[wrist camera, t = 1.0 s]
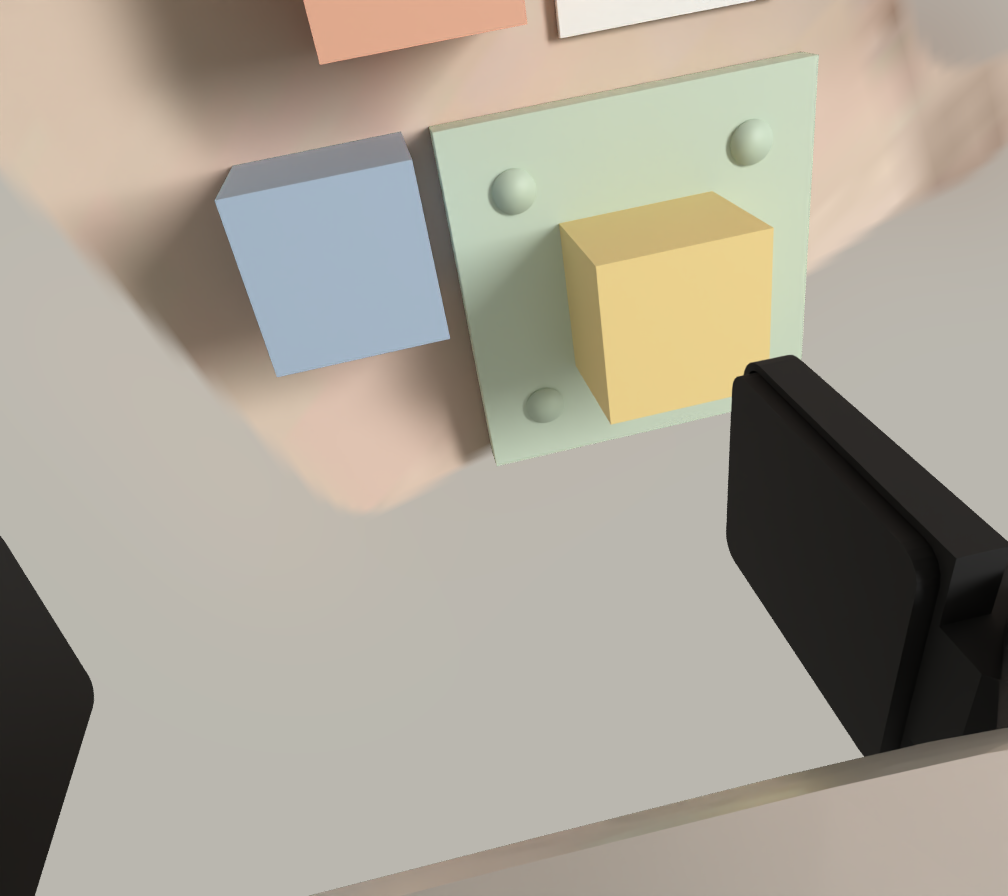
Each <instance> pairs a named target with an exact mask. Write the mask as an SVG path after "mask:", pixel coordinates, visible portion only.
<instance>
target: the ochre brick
mask: <svg viewBox="0 0 1008 896" xmlns="http://www.w3.org/2000/svg"><path fill="white" fill-rule="evenodd" d="M559 229H560V237H561V246H562V254H563V263H564V271H565V280H566V288H567V297H568V305H569V314H570V322H571V331H572V339H573V348H574V356H575V365H576V367H577V369H578V370H579V372H580V374H581V376H582V377H583V379H584V381H585V382H586V384H587V386H588V387H589V389H590V391H591V392H592V394H593V396H594V397H595V399H596V401H597V402H598V404H599V406H600V407H601V409H602V411H603V412H604V414H605V416H606V417H607V419H608V421H609V422H610V424H611V425H612V424H616V423H620V422H625V421H629V420H633V419H638V418H642V417H646V416H651V415H655V414H659V413H664V412H668V411H672V410H677V409H681V408H685V407H690V406H694V405H698V404H703V403H707V402H711V401H715V400H720V399H724V398H728V397H732V386H733V381H734V379H735V378H736V377H738V376H742V375H744V371H745V368H746V366H747V365H748V364H749V363H751V362H756V361H761V360H766V359H770V330H771V298H772V267H773V235H774V228H773V227H772V226H770V225H768V224H767V223H765V222H763V221H762V220H760V219H758V218H757V217H755V216H753V215H752V214H750V213H748V212H747V211H745V210H743V209H742V208H740V207H738V206H737V205H735V204H733V203H732V202H730V201H728V200H727V199H725V198H723V197H722V196H720V195H718V194H717V193H715V192H713V191H710V192H705V193H700V194H695V195H691V196H686V197H681V198H677V199H672V200H667V201H662V202H658V203H653V204H648V205H644V206H639V207H634V208H629V209H625V210H620V211H615V212H611V213H606V214H601V215H596V216H592V217H587V218H582V219H577V220H573V221H568V222H563V223H559Z"/></svg>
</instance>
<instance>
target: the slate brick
mask: <svg viewBox="0 0 1008 896" xmlns="http://www.w3.org/2000/svg"><path fill="white" fill-rule="evenodd" d="M215 203H216V206H217V209H218V212H219V214H220V217H221V220H222V223H223V226H224V229H225V231H226V234H227V237H228V240H229V243H230V246H231V248H232V251H233V254H234V257H235V260H236V262H237V265H238V268H239V271H240V274H241V277H242V279H243V282H244V285H245V288H246V291H247V294H248V296H249V299H250V302H251V305H252V308H253V311H254V313H255V316H256V319H257V322H258V325H259V327H260V330H261V333H262V336H263V339H264V342H265V344H266V347H267V350H268V353H269V356H270V359H271V361H272V364H273V367H274V370H275V373H276V375H277V377H281V376H285V375H290V374H294V373H299V372H303V371H308V370H312V369H317V368H321V367H326V366H330V365H334V364H339V363H343V362H348V361H352V360H357V359H361V358H366V357H370V356H375V355H379V354H384V353H388V352H393V351H397V350H402V349H406V348H411V347H415V346H420V345H424V344H429V343H433V342H438V341H442V340H447V339H450V335H449V330H448V326H447V321H446V316H445V312H444V307H443V302H442V298H441V293H440V288H439V284H438V279H437V274H436V270H435V265H434V260H433V255H432V251H431V246H430V241H429V237H428V232H427V227H426V223H425V218H424V213H423V209H422V204H421V199H420V195H419V190H418V185H417V180H416V176H415V171H414V166H413V162H412V158H411V156H410V153H409V151H408V148H407V146H406V143H405V141H404V138H403V136H402V133H401V132H396V133H391V134H387V135H382V136H377V137H372V138H367V139H362V140H357V141H352V142H347V143H342V144H337V145H333V146H328V147H323V148H318V149H313V150H308V151H303V152H298V153H293V154H288V155H283V156H279V157H274V158H269V159H264V160H259V161H254V162H249V163H244V164H239V165H234V166H232V168H231V170H230V172H229V174H228V176H227V177H226V179H225V181H224V183H223V185H222V187H221V189H220V191H219V193H218V195H217V197H216V199H215Z"/></svg>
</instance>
